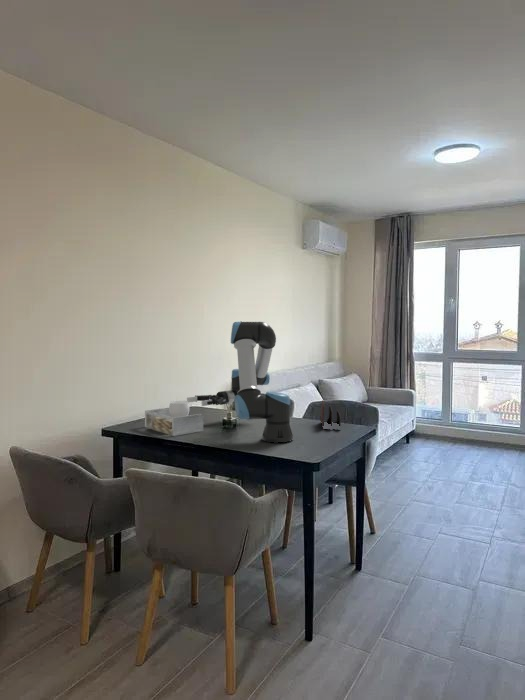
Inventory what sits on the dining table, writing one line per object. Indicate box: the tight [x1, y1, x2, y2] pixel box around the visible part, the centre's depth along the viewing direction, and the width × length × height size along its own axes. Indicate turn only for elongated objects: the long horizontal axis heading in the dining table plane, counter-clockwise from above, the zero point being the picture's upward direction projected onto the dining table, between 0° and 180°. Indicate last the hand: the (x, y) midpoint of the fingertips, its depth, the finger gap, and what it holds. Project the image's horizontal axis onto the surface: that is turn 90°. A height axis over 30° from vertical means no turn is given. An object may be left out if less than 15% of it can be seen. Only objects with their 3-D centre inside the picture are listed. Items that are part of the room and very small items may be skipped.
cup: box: [168, 400, 190, 417], centre depth 265 cm, size 11×11×15 cm
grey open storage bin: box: [144, 407, 204, 437], centre depth 263 cm, size 28×18×10 cm, turn 43°
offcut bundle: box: [152, 417, 172, 434], centre depth 259 cm, size 18×4×6 cm, turn 43°
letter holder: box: [320, 400, 342, 426], centre depth 279 cm, size 10×20×14 cm, turn 176°
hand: (194, 401), depth 272 cm, fingers open, 13 cm apart
